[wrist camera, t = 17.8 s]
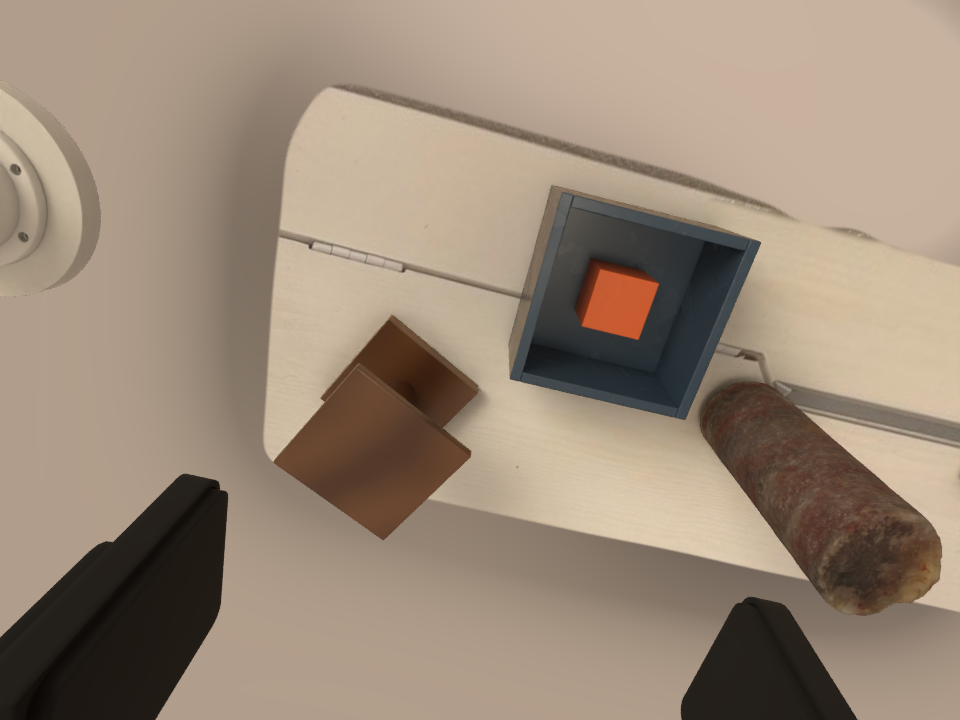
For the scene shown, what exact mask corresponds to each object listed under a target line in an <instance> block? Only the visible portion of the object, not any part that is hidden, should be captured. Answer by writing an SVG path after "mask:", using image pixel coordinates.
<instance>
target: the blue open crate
mask: <svg viewBox="0 0 960 720" xmlns="http://www.w3.org/2000/svg"><path fill="white" fill-rule="evenodd" d="M760 245H761V242H760V241H757V240H754V239H751V238H748V237H745V236H742V235H739V234H737V233H734V232H731V231H728V230H725V229H722V228H719V227H716V226H712V225H708V224H704V223H700V222H696V221H692V220H689V219H685V218H681V217H677V216H673V215H669V214H665V213H661V212H657V211H653V210H649V209H645V208H641V207H637V206H633V205H629V204H625V203H621V202H617V201H613V200H609V199H605V198H601V197H597V196H593V195H589V194H585V193H581V192H578V191H574V190H570V189H566V188H562V187H558V186H554V185H552V186H551V190H550V194H549V197H548V201H547V205H546V208H545V212H544V216H543V219H542V223H541V227H540V230H539V234H538V238H537V241H536V245H535V249H534V252H533V256H532V260H531V263H530V267H529V271H528V274H527V278H526V282H525V285H524V289H523V293H522V296H521V300H520V304H519V307H518V311H517V315H516V318H515V322H514V326H513V329H512V333H511V337H510V340H509V370H510V379H511V380H515V381H521V382H524V383H528V384H533V385H537V386H541V387H545V388H550V389H554V390H558V391H563V392H567V393H571V394H575V395H580V396H584V397H588V398H593V399H597V400H601V401H605V402H610V403H614V404H618V405H623V406H627V407H631V408H636V409H640V410H644V411H648V412H653V413H657V414H661V415H666V416H670V417H675V418H679V419H683V420H685V419H686V416H687V414H688V412H689V409H690V407H691V405H692V402H693V400H694V398H695V395H696V393H697V391H698V389H699V386H700V384H701V382H702V379H703V377H704V375H705V372H706V370H707V368H708V365H709V363H710V361H711V358H712V356H713V354H714V351H715V349H716V347H717V344H718V342H719V340H720V337H721V335H722V333H723V330H724V328H725V326H726V323H727V321H728V319H729V317H730V314H731V312H732V310H733V307H734V305H735V303H736V300H737V298H738V296H739V293H740V291H741V289H742V286H743V284H744V282H745V279H746V277H747V275H748V272H749V270H750V268H751V265H752V263H753V261H754V258H755V256H756V254H757V252H758V249H759V247H760ZM590 258H594V259H598V260H602V261H606V262H610V263H615V264H619V265H623V266H627V267H631V268H635V269H639V270H643V271H645V272H646V273H647V274H648V275H649V276H651V277H652V278H653V279H654V280H655V281H657V282H658V283H659V286H658V289H657V291H656V294H655V297H654V299H653V302H652V305H651V308H650V310H649V313H648V316H647V318H646V321H645V324H644V327H643V329H642V332H641V335H640V337H639V340H637V339H633V338H628V337H624V336H620V335H616V334H612V333H608V332H603V331H599V330H595V329H591V328H587V327H583V326H582V325H581V323H580V321H579V319H578V317H577V314H576V312H575V310H574V309H575V306H576V303H577V300H578V297H579V293H580V290H581V287H582V284H583V281H584V278H585V274H586V271H587V268H588V265H589V262H590Z"/></svg>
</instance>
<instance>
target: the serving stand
mask: <svg viewBox="0 0 960 720" xmlns="http://www.w3.org/2000/svg"><path fill="white" fill-rule="evenodd" d="M477 393H478V385H476V384H475V383H474V382H473V381H472V380H470V379H469V378H468V377H467V376H466V375H464V374H463V373H462V372H461V371H459V370H458V369H457V368H456V367H455V366H453V365H452V364H451V363H450V362H449V361H447V360H446V359H445V358H444V357H443V356H441V355H440V354H439V353H438V352H437V351H435V350H434V349H433V348H432V347H431V346H429V345H428V344H427V343H426V342H424V341H423V340H422V339H421V338H420V337H418V336H417V335H416V334H415V333H414V332H412V331H411V330H410V329H409V328H408V327H406V326H405V325H404V324H403V323H402V322H400V321H399V320H398V319H397V318H396V317H394V316H393V315H391V316H390V317H389V319H388V320H387V321H386V322H385V323H384V324H383V325H382V327H381V328H380V329H379V330H378V331H377V332H376V334H375V335H374V336H373V337H372V338H371V339H370V341H369V342H368V343H367V344H366V345H365V346H364V347H363V349H362V350H361V351H360V352H359V353H358V354H357V356H356V357H355V358H354V359H353V360H352V361H351V363H350V364H349V365H348V366H347V367H346V368H345V369H344V371H343V372H342V373H341V374H340V375H339V376H338V378H337V379H336V380H335V381H334V382H333V383H332V384H331V386H330V387H329V388H328V389H327V390H326V391H325V393H324V394H323V395H322V397H321V399H322V400H323V401H324V404H323V405H322V406H321V407H320V408H319V409H318V410H317V412H316V413H315V414H314V415H313V416H312V417H311V418H310V420H309V421H308V422H307V423H306V424H305V425H304V426H303V428H302V429H301V430H300V431H299V432H298V433H297V435H296V436H295V437H294V438H293V439H292V440H291V441H290V443H289V444H288V445H287V446H286V447H285V448H284V449H283V451H282V452H281V453H280V454H279V455H278V456H277V458H276V459H275V460H274V463H275V464H276V465H277V466H279V467H280V468H282V469H283V470H285V471H286V472H287V473H289V474H290V475H292V476H293V477H294V478H296V479H297V480H299V481H300V482H302V483H303V484H304V485H306V486H307V487H309V488H310V489H311V490H313V491H314V492H316V493H317V494H318V495H320V496H321V497H323V498H324V499H326V500H327V501H328V502H330V503H331V504H333V505H334V506H336V507H337V508H338V509H340V510H341V511H343V512H344V513H345V514H347V515H348V516H350V517H351V518H352V519H354V520H355V521H357V522H358V523H359V524H361V525H362V526H364V527H365V528H367V529H368V530H369V531H371V532H372V533H374V534H375V535H376V536H378V537H379V538H381V539H382V540H384V539H385V538H386V537H387V536H388V535H389V534H391V533H392V532H393V531H394V530H395V529H396V528H397V527H398V526H399V525H400V524H401V523H402V522H403V521H404V520H405V519H406V518H407V517H408V516H409V515H410V514H411V513H413V512H414V510H416V509H417V508H418V507H419V506H420V505H421V504H422V503H423V502H424V501H425V500H426V499H427V498H428V497H429V496H430V495H431V494H432V493H433V492H434V491H436V490H437V489H438V488H439V487H440V486H441V485H442V484H443V483H444V482H445V481H446V480H447V479H448V478H449V477H450V476H451V475H452V474H453V473H454V472H455V471H456V470H457V469H459V468H460V467H461V466H462V465H463V464H464V463H465V462H466V461H467V460H468V459H469V458H470V457H471V451H470V450H469V449H468V448H467V447H465V446H464V445H463V444H462V443H460V442H459V441H458V440H457V439H455V438H454V437H453V436H451V435H450V434H449V433H448V432H446V431H445V430H444V429H443V427H444V426H445V425H446V424H447V423H448V422H449V421H450V420H451V419H452V418H453V417H454V416H455V415H456V414H457V413H458V412H459V411H460V410H461V409H462V408H463V407H464V406H465V405H466V404H467V403H468V402H469V401H470V400H471V399H472V398H473V397H474V396H475V395H476V394H477Z"/></svg>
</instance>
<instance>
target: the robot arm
mask: <svg viewBox="0 0 960 720" xmlns="http://www.w3.org/2000/svg"><path fill="white" fill-rule="evenodd" d="M46 222H47V206H46V198H45V195H44V191H43V188H42V184H41V182H40V180H39V178H38V175H37V173H36V171H35V169H34V168H33V166H32V164H31V163H30V161H29V160H28V158H27V157H26V155H25V154H24V153H23V152H22V151H21V149H20V148H19V147H18V146H17V145H16V144H15V142H14V141H13V140H11V139H10V138H9V137H8V136H7V135H6V134H5V133H4V132H2V131H1V130H0V266H5V265H9V264H12V263H16V262H18V261H20V260H22V259H24V258H26V257H28V256H29V255H30V254H31V253H32V252H33V251H34V250H35V249H36V248H37V246H38V245H39V243H40V242H41V240H42V238H43V235H44V232H45V229H46ZM227 506H228V493H227V492H226V491H222V490H220V485H219V482H218V481H216V480H213V479H208V478H204V477H199V476H194V475H190V474H182V475H181V476H179V477H178V478H177V479H176V480H175V481H174V482H173V483H172V484H171V485H170V486H169V487H168V488H167V489H166V490H165V491H164V492H163V493H162V494H161V495H160V496H159V497H158V498H157V499H156V500H155V501H154V502H153V503H152V504H151V505H150V506H149V507H148V508H147V509H146V510H145V511H144V512H143V513H142V514H141V515H140V516H139V517H138V518H137V519H136V520H135V521H134V522H133V523H132V524H131V525H130V526H129V527H128V528H127V529H126V530H125V531H124V532H123V533H122V534H121V535H120V536H119V537H118V538H117V539H116V540H115V541H114V542H107V541H106V542H103V543H101V544H98V545H97V546H96V547H94V548H93V549H92V550H91V551H89V553H87V554H86V555H85V556H84V557H83V558H82V559H81V560H80V561H79V562H78V563H77V564H76V565H75V566H74V567H73V568H72V569H71V570H70V571H69V572H68V573H67V574H66V575H64V576H63V578H61V580H59V581H58V582H57V583H56V584H55V585H54V586H53V587H52V588H51V589H50V590H49V591H48V592H47V593H46V594H45V595H44V596H43V597H42V598H41V599H40V600H39V601H38V602H36V603H35V604H34V605H33V606H32V607H31V608H30V609H29V610H28V611H27V612H26V613H25V614H24V615H23V616H22V617H21V618H20V619H19V620H18V621H17V622H16V623H15V624H14V625H13V626H12V627H11V628H10V629H9V630H7V631H6V632H5V633H4V634H3V636H1V637H0V720H155V719H156V718H157V716H158V714H159V713H160V711H161V710H162V708H163V706H164V705H165V703H166V701H167V700H168V698H169V696H170V695H171V693H172V691H173V690H174V688H175V686H176V685H177V683H178V682H179V680H180V678H181V677H182V675H183V674H184V672H185V670H186V669H187V667H188V665H189V664H190V662H191V661H192V659H193V657H194V655H195V654H196V652H197V651H198V649H199V647H200V646H201V644H202V642H203V641H204V639H205V638H206V636H207V634H208V633H209V631H210V629H211V628H212V626H213V624H214V622H215V620H216V618H217V615H218V612H219V609H220V605H221V594H222V593H221V592H222V579H223V565H224V563H223V562H224V550H225V535H226V521H227ZM681 718H682V720H857V718H856V716H855V715H854V713H853V712H852V710H851V708H850V707H849V705H848V704H847V702H846V700H845V699H844V697H843V696H842V694H841V693H840V691H839V689H838V688H837V686H836V685H835V683H834V682H833V680H832V678H831V677H830V675H829V673H828V672H827V670H826V669H825V667H824V665H823V664H822V662H821V661H820V659H819V658H818V656H817V654H816V653H815V651H814V649H813V648H812V646H811V645H810V643H809V641H808V640H807V638H806V637H805V635H804V634H803V632H802V630H801V629H800V627H799V625H798V624H797V622H796V621H795V619H794V617H793V616H792V614H791V613H790V611H789V610H788V609H787V607H786V606H785V605H783V604H781V603H777V602H773V601H768V600H763V599H759V598H755V597H748V598H746V599H745V600H744V601H743V602H742V603H737V604H736V605H735V606H734V607H733V609H732V611H731V613H730V614H729V616H728V618H727V620H726V621H725V624H724V625H723V627H722V629H721V630H720V632H719V634H718V636H717V638H716V640H715V641H714V643H713V645H712V647H711V649H710V651H709V652H708V654H707V656H706V658H705V659H704V661H703V663H702V665H701V667H700V669H699V670H698V672H697V674H696V676H695V677H694V679H693V681H692V683H691V685H690V687H689V688H688V690H687V692H686V694H685V696H684V697H683V700H682V704H681Z"/></svg>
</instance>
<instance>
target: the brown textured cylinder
mask: <svg viewBox="0 0 960 720" xmlns="http://www.w3.org/2000/svg"><path fill="white" fill-rule="evenodd" d="M701 430H702V433H703V436H704V437H705V439H706V440H707V442H708V443H709V445H710V446H711V447H712V449H713V450H714V452H715V453H716V454H717V456H718V457H719V459H720V460H721V462H722V463H723V464H724V465H725V467H726V468H727V469H728V470H729V472H730V473H731V474H732V476H733V477H734V478H735V480H736V481H737V482H738V484H739V485H740V486H741V488H742V489H743V490H744V492H745V493H746V494H747V496H748V497H749V498H750V500H751V501H752V503H753V504H754V505H755V507H756V508H757V509H758V511H759V512H760V514H761V515H762V516H763V518H764V519H765V520H766V521H767V522H768V524H769V525H770V527H771V528H772V530H773V531H774V533H775V534H776V536H777V537H778V538H779V540H780V541H781V542H782V544H783V545H784V546H785V547H786V549H787V550H788V551H789V553H790V554H791V555H792V557H793V558H794V560H795V561H796V563H797V564H798V565H799V567H800V568H801V570H802V571H803V572H804V574H805V575H806V576H807V578H808V579H809V580H810V582H811V583H812V584H813V586H814V587H815V588H816V590H817V591H818V592H819V594H820V595H821V596H822V597H823V599H824V600H825V601H826V602H827V603H828V604H829V605H830V606H831V607H833V608H835V609H836V610H838V611H840V612H842V613H845V614H848V615H853V614H854V615H862V616H867V615H871V614H875V613H879V612H881V611H882V610H884V609H885V608H888V607H890V606H892V605H893V604H894V603H912V602H913V601H914V600H916V599H919V598H921V597H922V596H924V595H925V594H926V593H927V592H928V591H929V590H930V589H931V587H932V586H933V585H934V584H935V583H936V582H938V581H939V580H940V571H941V562H940V560H941V558H942V546H941V541H940V537H939V536H938V535H937V533H936V530H935V529H934V527H933V526H932V524H931V523H930V522H929V521H928V520H927V519H926V518H925V517H924V516H923V515H922V514H921V513H919V512H918V511H917V510H916V509H915V508H913V507H912V506H911V505H910V504H909V503H907V502H906V501H905V500H904V499H902V498H901V497H900V496H899V495H898V494H896V493H895V492H894V491H893V490H891V489H890V488H889V487H888V486H887V485H886V484H885V483H884V482H883V481H881V480H880V479H879V478H878V477H877V476H876V475H875V474H873V473H872V472H871V471H870V470H869V469H868V468H866V467H865V466H864V465H863V464H862V463H860V462H859V461H858V460H857V459H856V458H855V457H853V456H852V455H851V454H850V453H849V452H847V451H846V450H845V449H844V448H843V447H842V446H841V445H839V444H838V443H837V442H836V441H835V440H834V439H832V438H831V437H830V436H829V435H828V434H827V433H826V432H824V431H823V430H822V429H821V428H820V427H819V426H818V425H817V424H815V423H814V422H813V421H812V420H811V419H810V418H809V417H808V416H806V415H805V414H804V413H803V412H802V411H801V410H800V409H798V408H797V407H796V406H795V405H794V404H792V403H791V402H790V401H789V400H788V399H787V398H785V397H784V396H783V395H782V394H781V393H779V392H778V391H777V390H776V389H774V388H773V387H771V386H769V385H767V384H762V383H757V382H742V383H735V384H733V385H731V386H728V387H727V388H726V389H724V390H722V391H721V392H720V393H719V394H717V395H716V396H715V397H713V398H712V399H711V400H710V401H709V403H708V405H707V407H706V408H705V410H704V411H703V413H702V415H701Z"/></svg>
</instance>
